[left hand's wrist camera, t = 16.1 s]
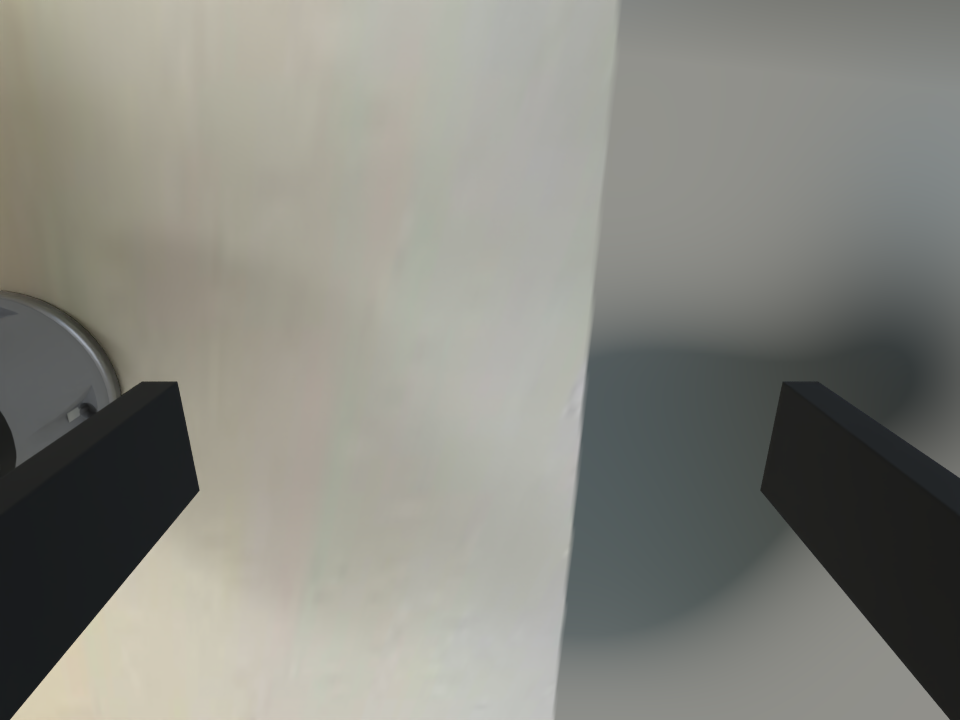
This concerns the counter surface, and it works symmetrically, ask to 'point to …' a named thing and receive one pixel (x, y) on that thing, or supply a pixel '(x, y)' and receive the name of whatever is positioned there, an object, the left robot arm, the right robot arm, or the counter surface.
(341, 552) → the counter surface
